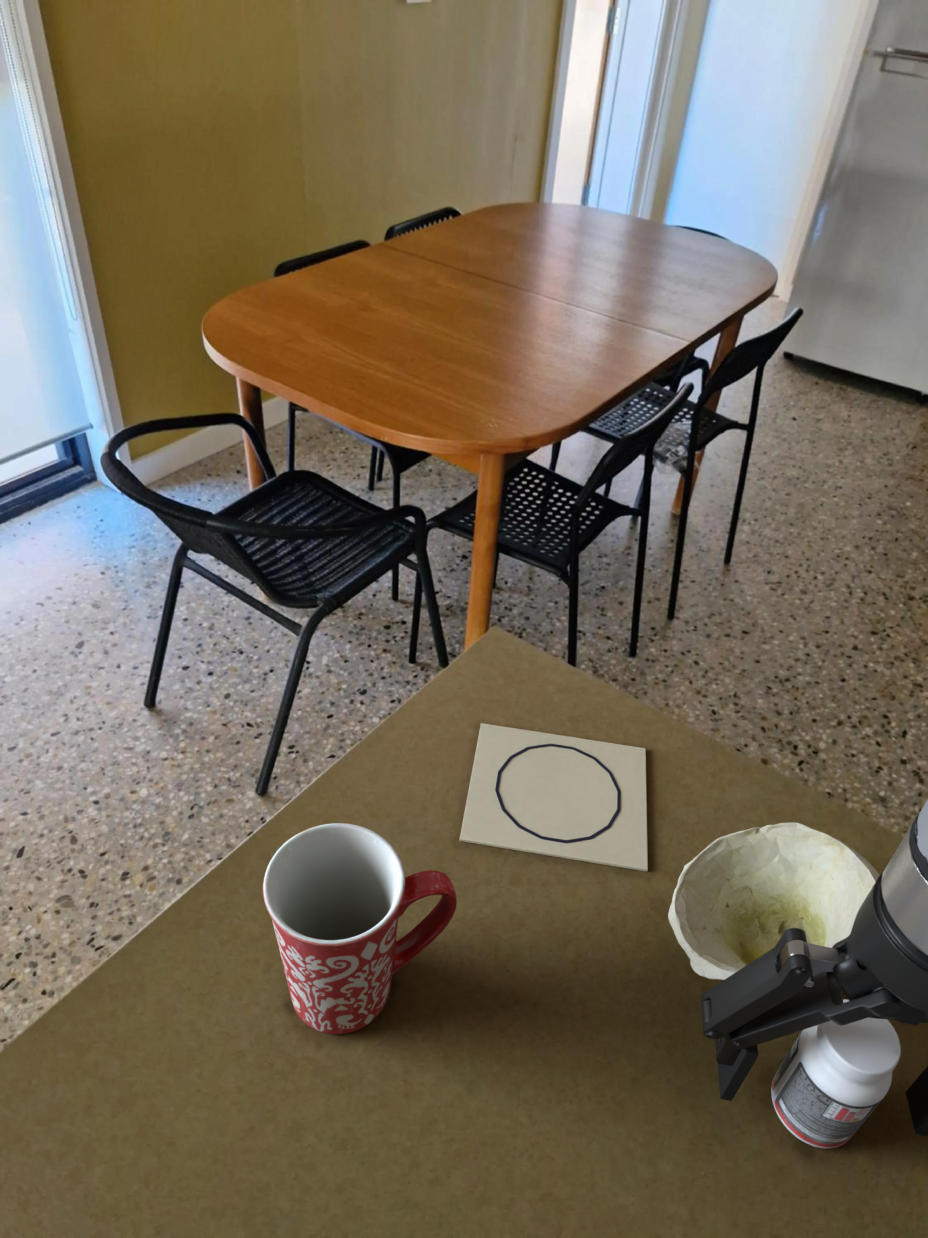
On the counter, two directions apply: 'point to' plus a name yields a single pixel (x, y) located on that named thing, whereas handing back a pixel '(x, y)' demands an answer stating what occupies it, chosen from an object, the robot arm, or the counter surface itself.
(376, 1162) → the counter surface
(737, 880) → the bowl
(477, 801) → the beige flat square sheet
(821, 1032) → the pill bottle
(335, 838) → the mug
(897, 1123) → the counter surface
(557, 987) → the counter surface
